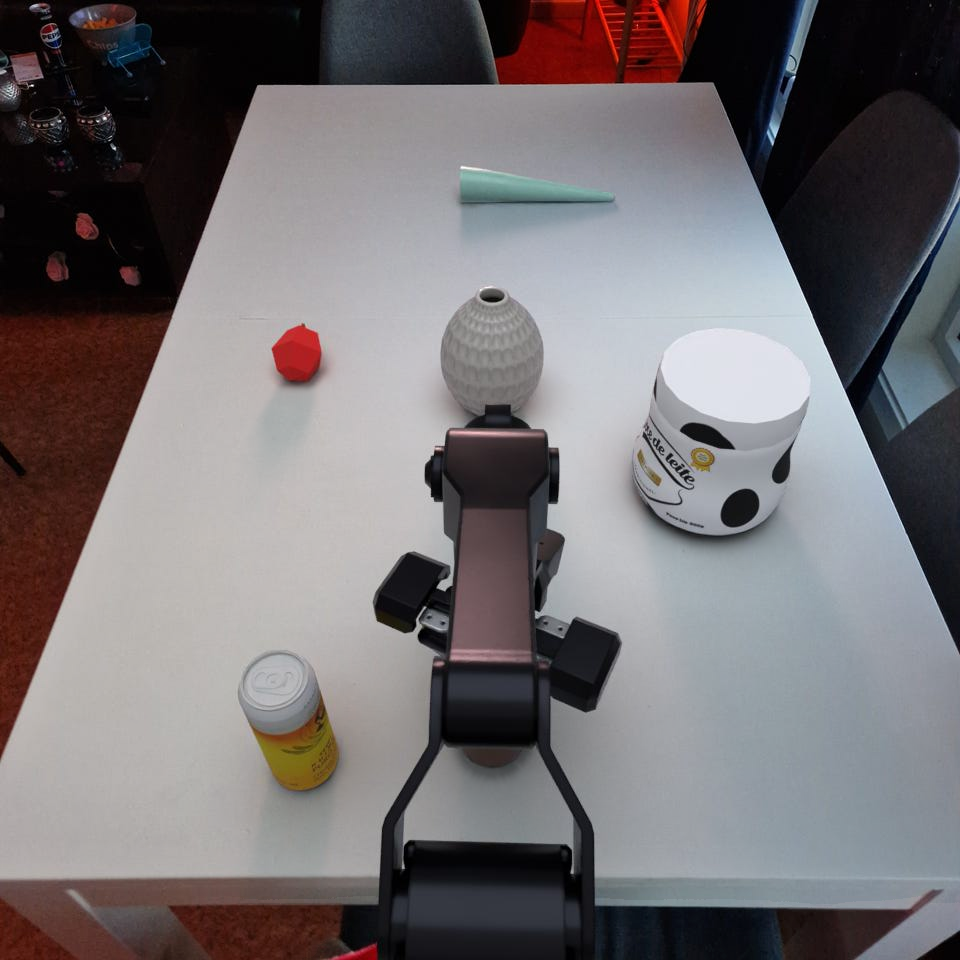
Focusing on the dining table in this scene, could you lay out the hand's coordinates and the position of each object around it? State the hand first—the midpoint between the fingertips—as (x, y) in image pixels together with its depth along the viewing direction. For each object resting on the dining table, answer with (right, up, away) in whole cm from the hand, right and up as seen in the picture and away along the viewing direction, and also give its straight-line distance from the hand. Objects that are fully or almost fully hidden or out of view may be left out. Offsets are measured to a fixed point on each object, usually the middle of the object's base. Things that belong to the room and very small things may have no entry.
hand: (494, 681), depth 69 cm
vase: (0, +27, +39) cm, 47 cm away
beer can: (-17, -9, +6) cm, 20 cm away
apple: (-25, +32, +43) cm, 59 cm away
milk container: (+25, +15, +28) cm, 41 cm away
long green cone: (+9, +66, +75) cm, 100 cm away
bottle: (0, -7, +7) cm, 10 cm away
